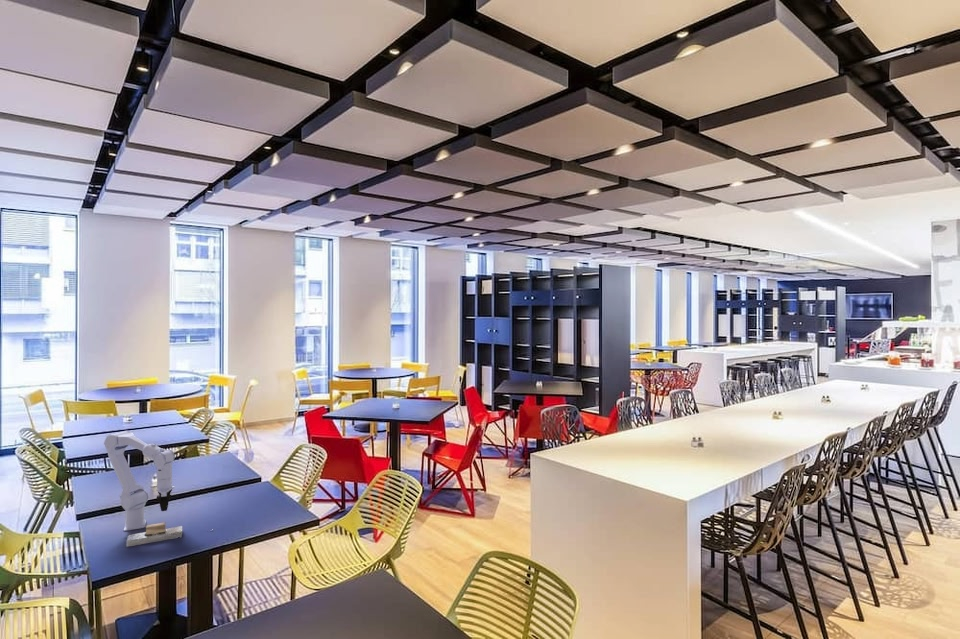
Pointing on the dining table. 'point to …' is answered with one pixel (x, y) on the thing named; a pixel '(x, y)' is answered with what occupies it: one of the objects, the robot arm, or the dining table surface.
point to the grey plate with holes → (154, 536)
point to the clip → (155, 528)
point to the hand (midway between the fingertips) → (164, 508)
